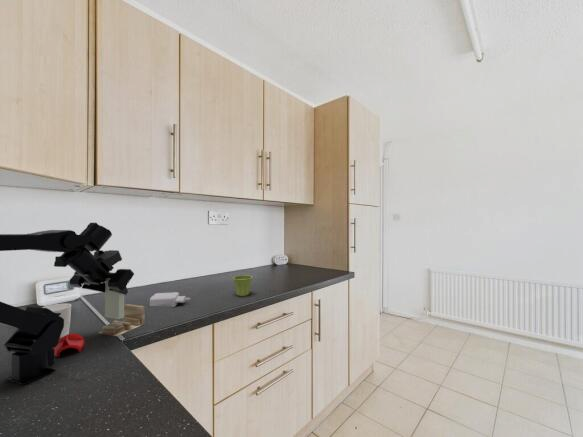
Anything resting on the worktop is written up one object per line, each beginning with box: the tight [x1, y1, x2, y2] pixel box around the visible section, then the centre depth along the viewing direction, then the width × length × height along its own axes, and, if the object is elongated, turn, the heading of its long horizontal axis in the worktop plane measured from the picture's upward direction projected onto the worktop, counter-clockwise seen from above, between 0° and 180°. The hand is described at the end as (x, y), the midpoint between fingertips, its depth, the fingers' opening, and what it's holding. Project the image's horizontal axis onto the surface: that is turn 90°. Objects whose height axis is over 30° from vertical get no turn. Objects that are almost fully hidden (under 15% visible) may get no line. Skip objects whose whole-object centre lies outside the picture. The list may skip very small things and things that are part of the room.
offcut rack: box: [98, 303, 146, 337], centre depth 87 cm, size 10×8×7 cm
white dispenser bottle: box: [149, 291, 191, 309], centre depth 114 cm, size 5×9×15 cm
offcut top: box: [102, 321, 123, 331], centre depth 84 cm, size 3×4×1 cm
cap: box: [53, 333, 86, 358], centre depth 71 cm, size 8×6×6 cm
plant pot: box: [232, 274, 253, 297], centre depth 130 cm, size 9×9×9 cm
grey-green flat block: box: [104, 271, 125, 320], centre depth 84 cm, size 2×6×14 cm, turn 72°
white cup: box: [41, 303, 72, 339], centre depth 81 cm, size 8×8×10 cm
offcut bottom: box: [101, 326, 125, 336], centre depth 84 cm, size 4×5×1 cm
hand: (118, 292), depth 85 cm, fingers closed on grey-green flat block, 6 cm apart
